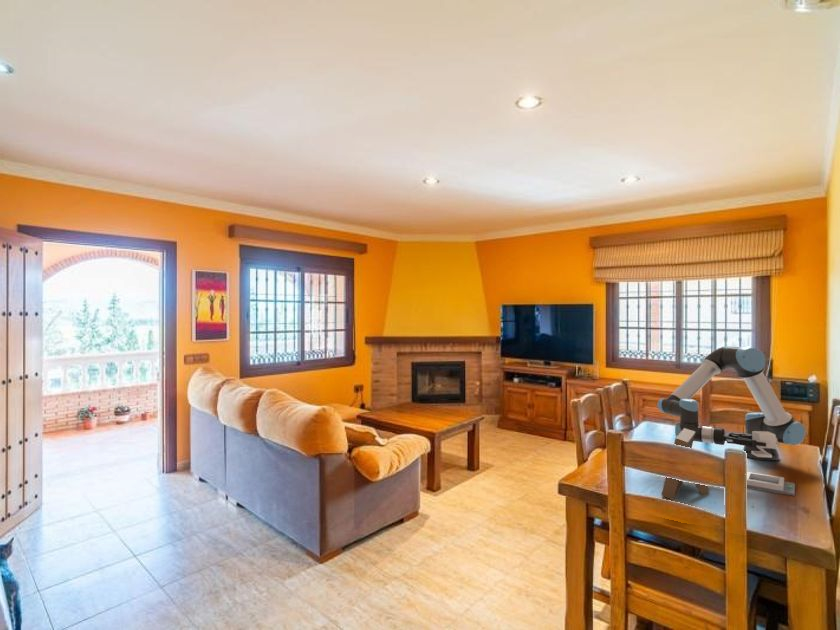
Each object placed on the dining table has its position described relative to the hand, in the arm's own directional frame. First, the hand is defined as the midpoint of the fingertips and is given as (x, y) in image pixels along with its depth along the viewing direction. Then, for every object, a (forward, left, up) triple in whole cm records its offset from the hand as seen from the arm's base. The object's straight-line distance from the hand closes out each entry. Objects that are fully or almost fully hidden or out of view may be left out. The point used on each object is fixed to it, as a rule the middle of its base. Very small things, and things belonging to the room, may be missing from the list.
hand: (776, 443), depth 187 cm
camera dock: (+1, -5, -19) cm, 19 cm away
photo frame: (+31, -29, -19) cm, 47 cm away
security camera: (0, -5, -6) cm, 8 cm away
